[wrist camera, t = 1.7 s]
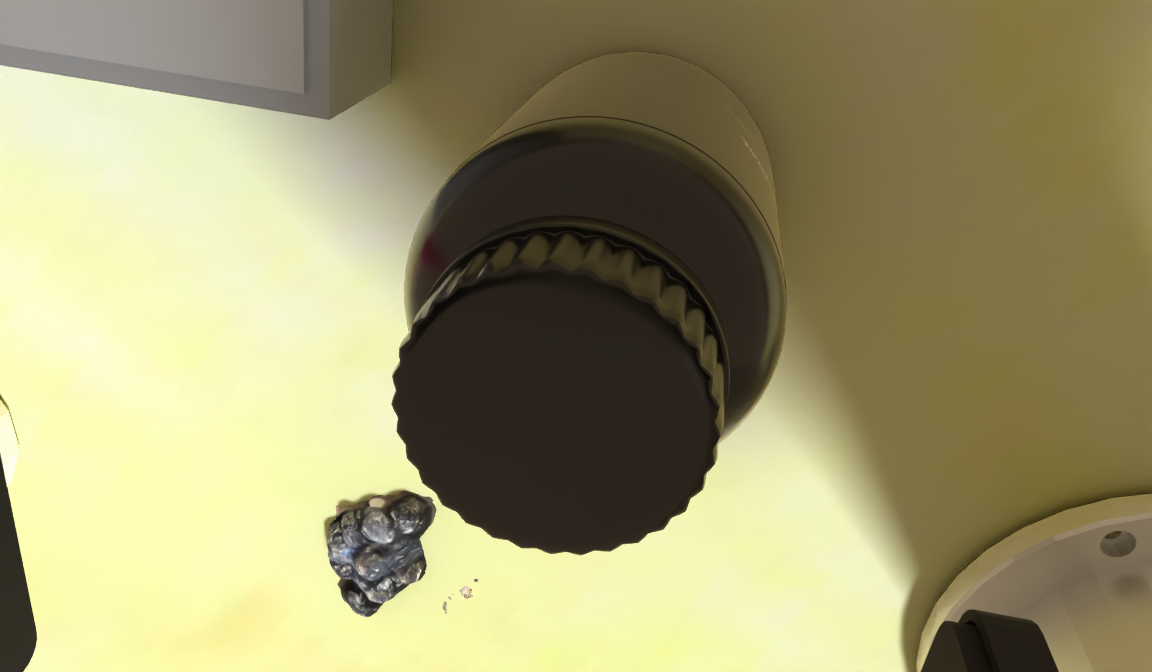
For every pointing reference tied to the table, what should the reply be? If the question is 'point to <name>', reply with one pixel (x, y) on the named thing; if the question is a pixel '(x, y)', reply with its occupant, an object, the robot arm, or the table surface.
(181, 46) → the slate riser
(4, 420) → the white cup
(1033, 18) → the table surface
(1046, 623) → the robot arm
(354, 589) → the blueberries
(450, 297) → the supplement bottle
